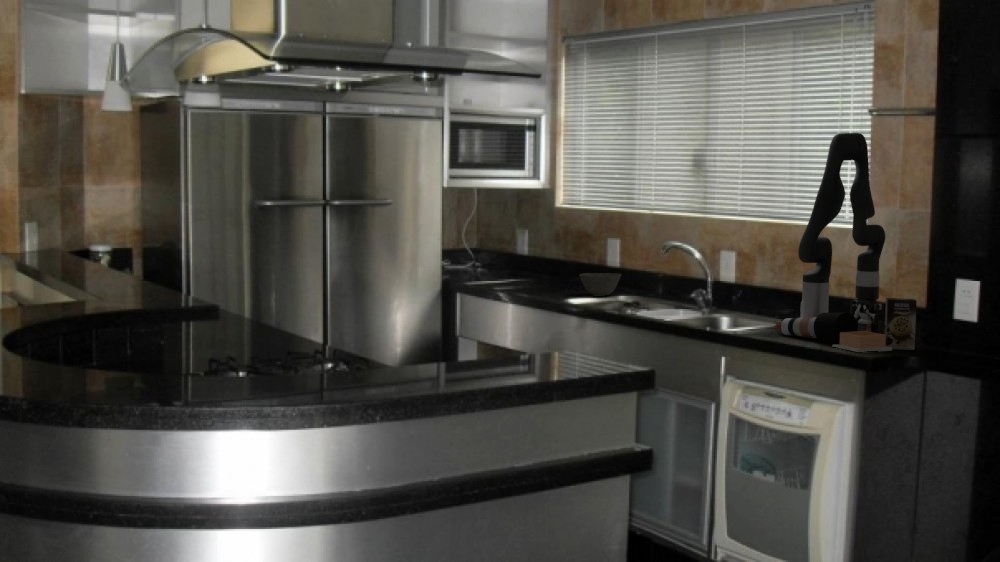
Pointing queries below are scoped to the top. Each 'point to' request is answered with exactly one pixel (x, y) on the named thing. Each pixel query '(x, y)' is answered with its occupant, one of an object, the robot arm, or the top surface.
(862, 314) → the pill bottle
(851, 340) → the end holder
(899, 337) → the cookie box
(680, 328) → the top surface
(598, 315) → the top surface
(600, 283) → the bowl
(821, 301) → the robot arm
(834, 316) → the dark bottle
